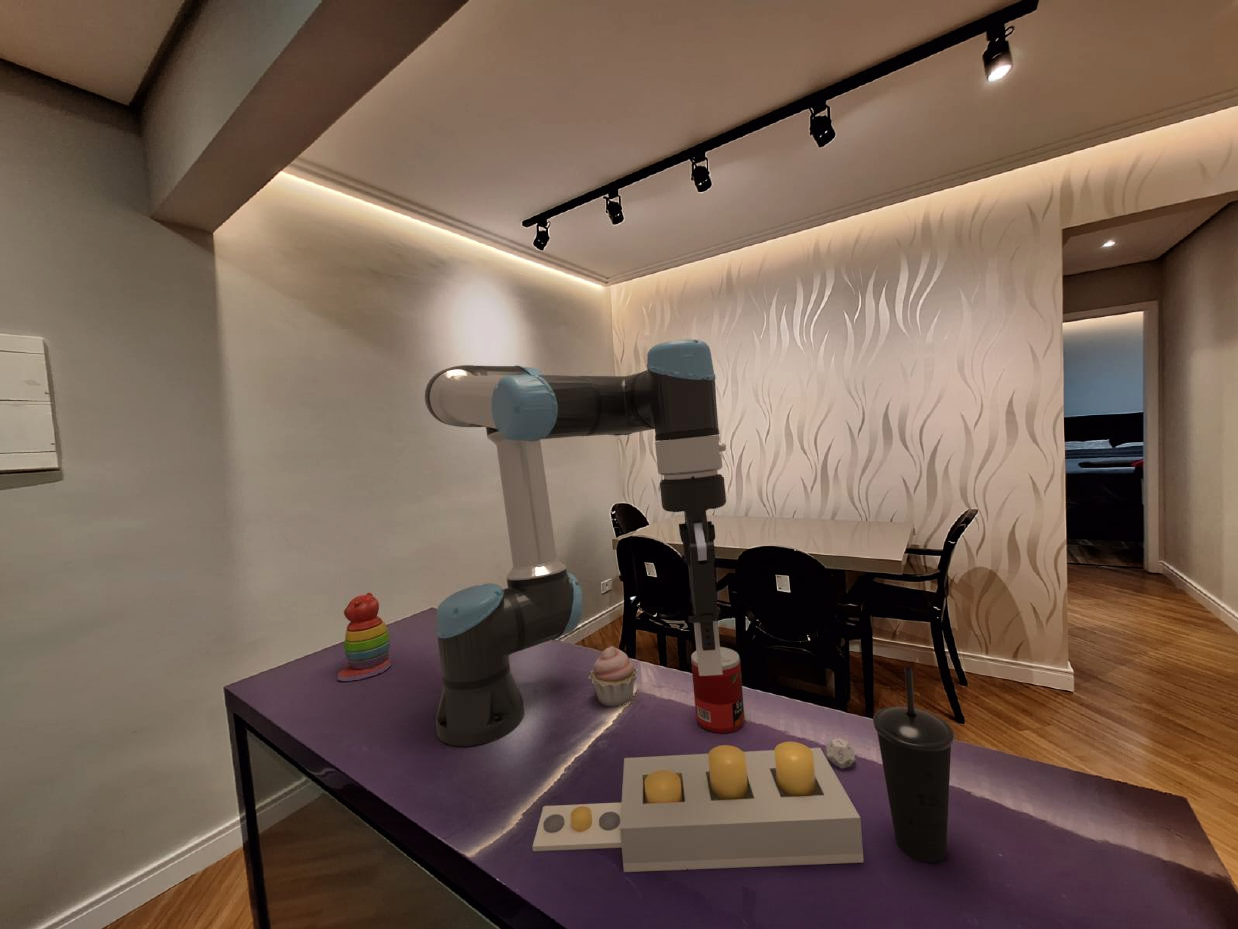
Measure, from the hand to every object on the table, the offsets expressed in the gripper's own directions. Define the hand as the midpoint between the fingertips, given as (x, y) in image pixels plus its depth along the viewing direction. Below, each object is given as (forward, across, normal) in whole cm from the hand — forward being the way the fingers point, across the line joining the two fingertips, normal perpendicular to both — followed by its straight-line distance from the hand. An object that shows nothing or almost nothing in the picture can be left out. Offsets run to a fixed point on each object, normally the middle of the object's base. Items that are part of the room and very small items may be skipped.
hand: (710, 672), depth 58 cm
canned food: (+19, +23, -2) cm, 30 cm away
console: (+19, +1, -1) cm, 19 cm away
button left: (+18, +1, +7) cm, 19 cm away
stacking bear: (+18, +49, +76) cm, 92 cm away
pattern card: (+19, +1, +18) cm, 26 cm away
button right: (+15, +1, -9) cm, 18 cm away
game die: (+20, +12, -18) cm, 29 cm away
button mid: (+15, +1, -1) cm, 15 cm away
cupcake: (+19, +32, +16) cm, 40 cm away
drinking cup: (+20, -2, -21) cm, 29 cm away
